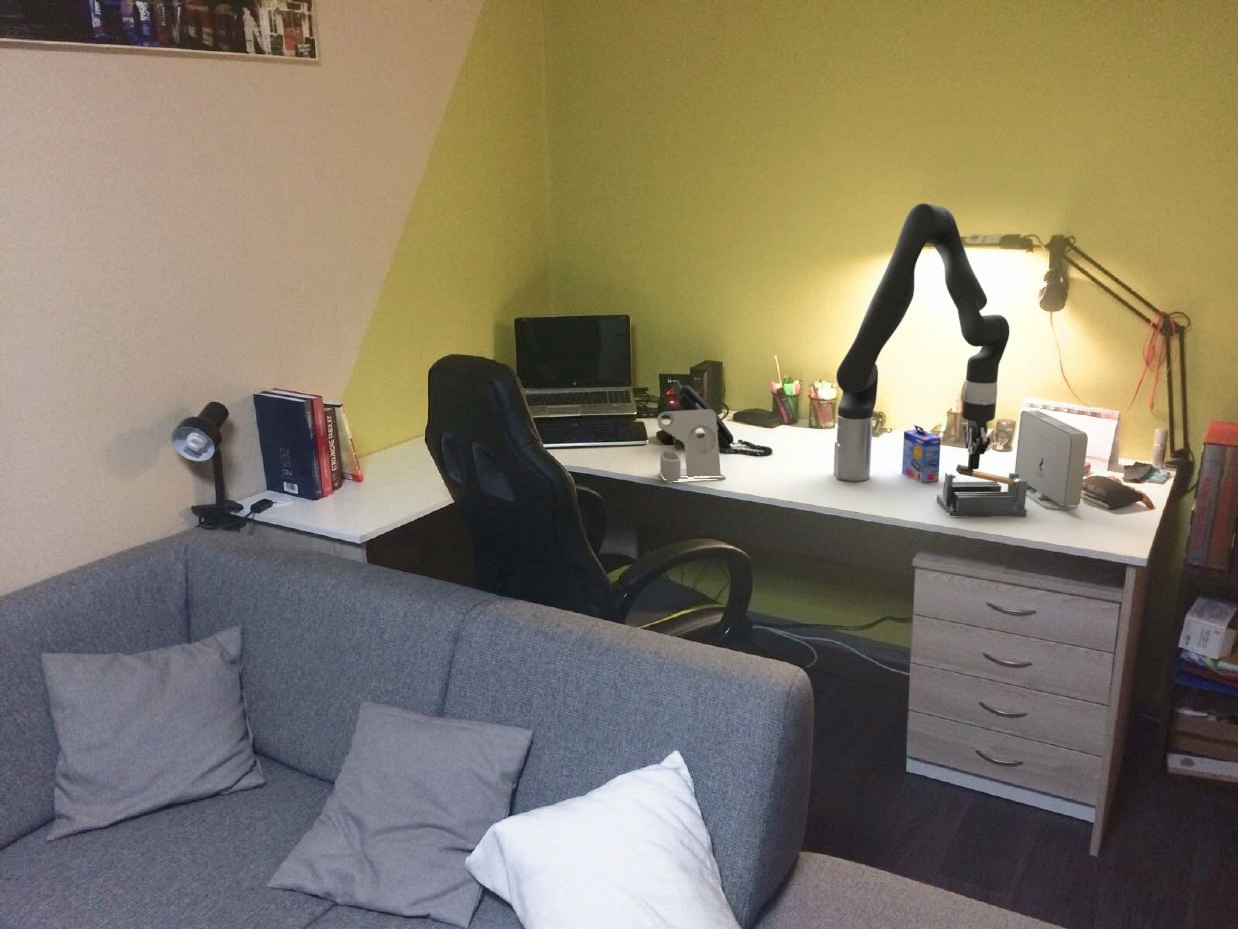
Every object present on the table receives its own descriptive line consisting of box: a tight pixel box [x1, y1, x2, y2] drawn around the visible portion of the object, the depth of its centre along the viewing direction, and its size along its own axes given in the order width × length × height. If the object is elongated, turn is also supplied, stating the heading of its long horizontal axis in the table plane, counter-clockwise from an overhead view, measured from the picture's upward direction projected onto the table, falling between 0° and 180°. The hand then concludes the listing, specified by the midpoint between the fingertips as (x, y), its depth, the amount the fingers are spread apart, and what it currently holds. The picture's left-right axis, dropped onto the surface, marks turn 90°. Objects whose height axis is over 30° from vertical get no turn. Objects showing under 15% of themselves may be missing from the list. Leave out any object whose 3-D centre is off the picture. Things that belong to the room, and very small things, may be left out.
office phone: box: [671, 380, 773, 457], centre depth 297 cm, size 29×28×20 cm
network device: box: [1014, 409, 1089, 511], centre depth 244 cm, size 26×9×20 cm, turn 5°
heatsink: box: [936, 471, 1028, 518], centre depth 238 cm, size 18×12×9 cm, turn 88°
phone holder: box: [657, 408, 727, 484], centre depth 267 cm, size 17×10×18 cm, turn 98°
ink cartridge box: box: [901, 424, 942, 483], centre depth 263 cm, size 10×6×14 cm, turn 19°
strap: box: [955, 464, 1020, 487], centre depth 237 cm, size 16×4×2 cm, turn 89°
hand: (973, 468), depth 237 cm, fingers closed
